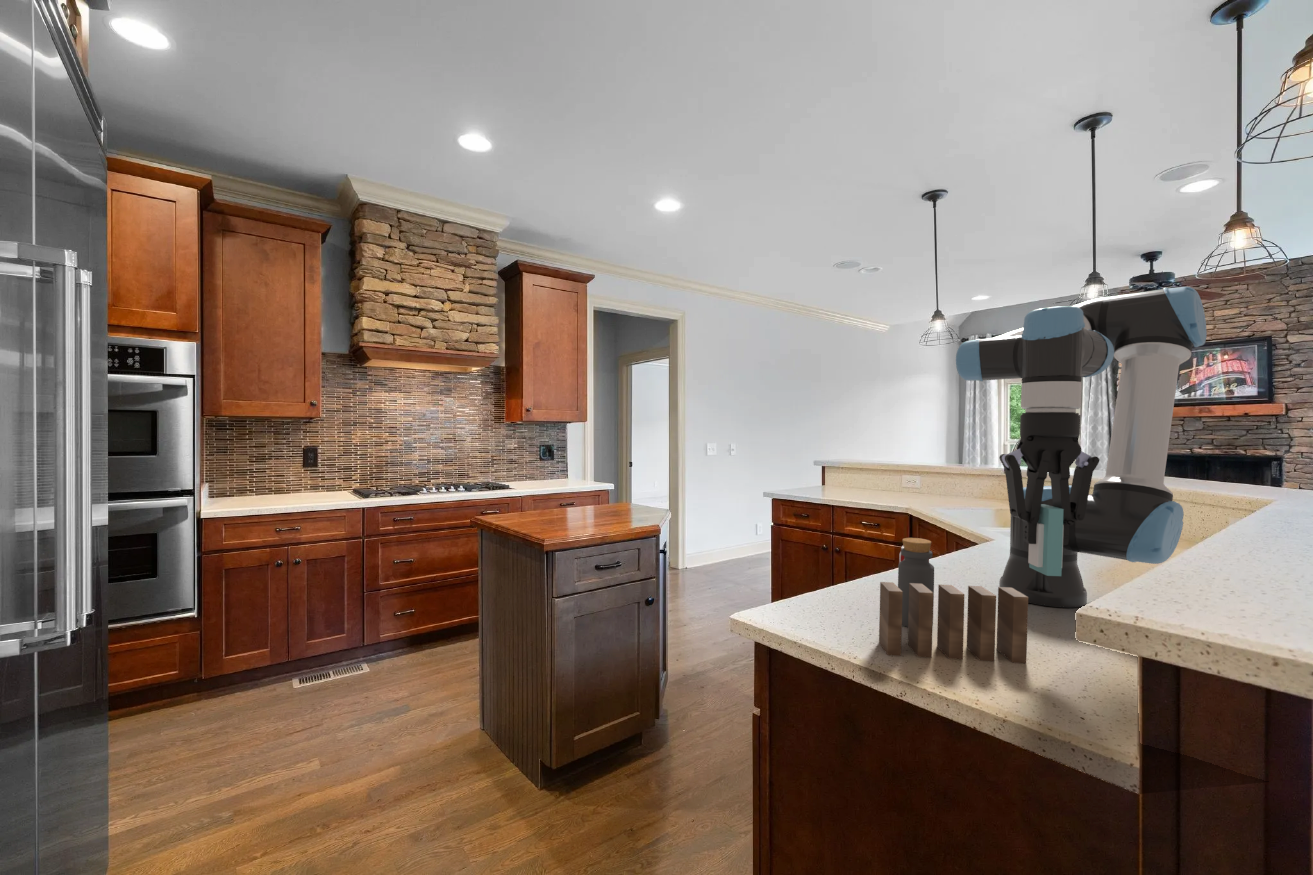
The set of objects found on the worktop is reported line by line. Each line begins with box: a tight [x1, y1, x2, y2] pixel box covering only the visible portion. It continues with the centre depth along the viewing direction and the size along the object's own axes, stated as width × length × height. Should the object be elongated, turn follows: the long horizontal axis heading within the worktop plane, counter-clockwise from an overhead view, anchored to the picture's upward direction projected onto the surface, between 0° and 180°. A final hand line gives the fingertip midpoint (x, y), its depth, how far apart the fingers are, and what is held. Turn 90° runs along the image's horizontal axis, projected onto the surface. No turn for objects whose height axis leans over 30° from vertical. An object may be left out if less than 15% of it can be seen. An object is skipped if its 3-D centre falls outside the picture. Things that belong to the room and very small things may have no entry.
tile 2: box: [996, 586, 1029, 664], centre depth 88 cm, size 2×5×10 cm, turn 173°
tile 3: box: [966, 585, 997, 662], centre depth 89 cm, size 2×5×10 cm, turn 173°
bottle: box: [897, 537, 935, 628], centre depth 102 cm, size 6×6×15 cm
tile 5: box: [907, 583, 934, 659], centre depth 90 cm, size 2×5×10 cm, turn 173°
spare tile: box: [1029, 504, 1064, 576], centre depth 87 cm, size 2×5×10 cm, turn 173°
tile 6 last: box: [878, 581, 903, 657], centre depth 90 cm, size 2×5×10 cm, turn 173°
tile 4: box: [936, 584, 966, 660], centre depth 89 cm, size 2×5×10 cm, turn 173°
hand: (1044, 565), depth 87 cm, fingers closed on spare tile, 2 cm apart
